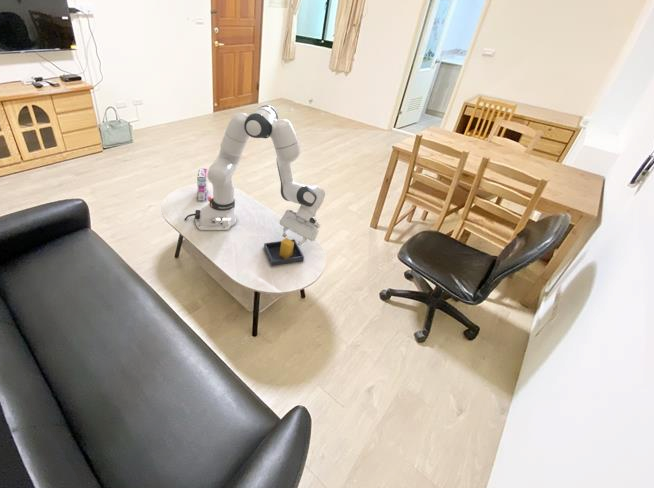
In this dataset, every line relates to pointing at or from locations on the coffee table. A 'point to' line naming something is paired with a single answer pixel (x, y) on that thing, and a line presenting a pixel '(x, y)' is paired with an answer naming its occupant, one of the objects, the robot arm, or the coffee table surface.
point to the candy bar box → (202, 184)
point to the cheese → (286, 248)
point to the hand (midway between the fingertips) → (291, 240)
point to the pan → (276, 259)
